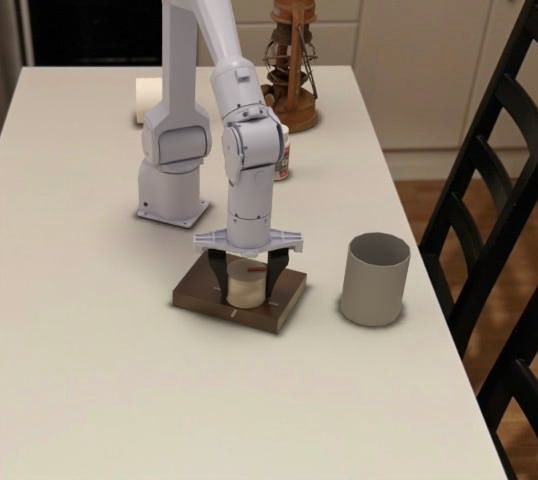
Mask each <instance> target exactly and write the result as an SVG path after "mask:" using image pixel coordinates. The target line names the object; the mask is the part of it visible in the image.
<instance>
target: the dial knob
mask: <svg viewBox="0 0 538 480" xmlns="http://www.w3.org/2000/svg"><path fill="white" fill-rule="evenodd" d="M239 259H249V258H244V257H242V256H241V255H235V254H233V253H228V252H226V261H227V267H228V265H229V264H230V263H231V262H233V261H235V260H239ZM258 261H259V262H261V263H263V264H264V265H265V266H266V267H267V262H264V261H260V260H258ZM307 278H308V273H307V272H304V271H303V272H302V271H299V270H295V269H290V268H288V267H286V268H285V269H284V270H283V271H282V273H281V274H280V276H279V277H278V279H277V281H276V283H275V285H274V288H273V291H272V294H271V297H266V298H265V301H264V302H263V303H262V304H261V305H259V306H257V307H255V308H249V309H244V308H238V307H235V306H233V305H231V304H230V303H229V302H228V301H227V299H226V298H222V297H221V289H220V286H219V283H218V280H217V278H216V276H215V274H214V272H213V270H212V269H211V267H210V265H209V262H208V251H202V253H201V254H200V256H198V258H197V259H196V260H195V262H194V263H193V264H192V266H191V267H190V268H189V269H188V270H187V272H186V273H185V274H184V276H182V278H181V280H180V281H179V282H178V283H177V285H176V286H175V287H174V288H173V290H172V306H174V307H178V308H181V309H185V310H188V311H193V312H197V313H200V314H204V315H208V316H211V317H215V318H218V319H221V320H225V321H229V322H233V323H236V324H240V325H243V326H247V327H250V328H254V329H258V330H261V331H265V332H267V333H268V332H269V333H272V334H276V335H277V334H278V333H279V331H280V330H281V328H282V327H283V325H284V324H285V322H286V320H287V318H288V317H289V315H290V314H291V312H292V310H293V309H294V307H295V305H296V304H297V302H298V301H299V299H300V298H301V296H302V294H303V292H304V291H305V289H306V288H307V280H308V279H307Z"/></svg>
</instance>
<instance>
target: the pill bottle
mask: <svg viewBox="0 0 538 480" xmlns="http://www.w3.org/2000/svg"><path fill="white" fill-rule="evenodd" d="M281 125H282V129H283V133H284V139H285V151H284V156H283V158H282V160H281V161H280V162H275V163H274V164H275V168H274V181H280V180H284V179H285V178H286V177H287V176H289V175H288V173H289V163H290V153H291V152H290V151H291V150H290V149H291V140H290V138H289V136H290V133H289V129H288V127H287V126H285V125H283V124H281Z"/></svg>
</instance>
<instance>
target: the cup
mask: <svg viewBox="0 0 538 480" xmlns="http://www.w3.org/2000/svg"><path fill="white" fill-rule="evenodd" d="M347 246H348V248H347V253H346V262H345V269H344V276H343V282H342V291H341V297H340V311H341V313H342V314H343V315H344V316H345V318H346V319H347V320H350V321H352V323H353V322H354V323H355V324H357V325H361V326H366V327H382V326H383V327H384V326H386V325H388V324H391V323H393V322H395V321H396V319H397V318H398V317H399V315H400V313H401V307H402V303H403V299H404V293H405V287H406V283H407V278H408V273H409V266H410V262H411V257H412V252H411V246H410V245H409V244H408V243H407V242H406V241H405V240H404V239H402V238H401V237H398V236H396V235H394V234H392V233H386V232H382V231H374V232H373V231H372V232H364V233H361V234H357V235H355V236H354V237H353V238H352V239H351V240H350V242H349V243H348V245H347Z"/></svg>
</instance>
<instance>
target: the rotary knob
mask: <svg viewBox="0 0 538 480" xmlns="http://www.w3.org/2000/svg"><path fill="white" fill-rule="evenodd" d="M259 261H260V260H256V259H254V258H248V259H239V260H235V261H233V262H231V263H230V264H229V265H228V267H227V269H226V290H227V296H226V299H227V301H228V302H229V303H230V304H231V305H233V306H235V307H238V308H244V309H249V308H255V307H257V306H259V305H261V304H262V303H263V302H264V301H265V298H266V284H267V267H266V266H265V265H264V264H263V263H261V262H262V261H260V262H259Z"/></svg>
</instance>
